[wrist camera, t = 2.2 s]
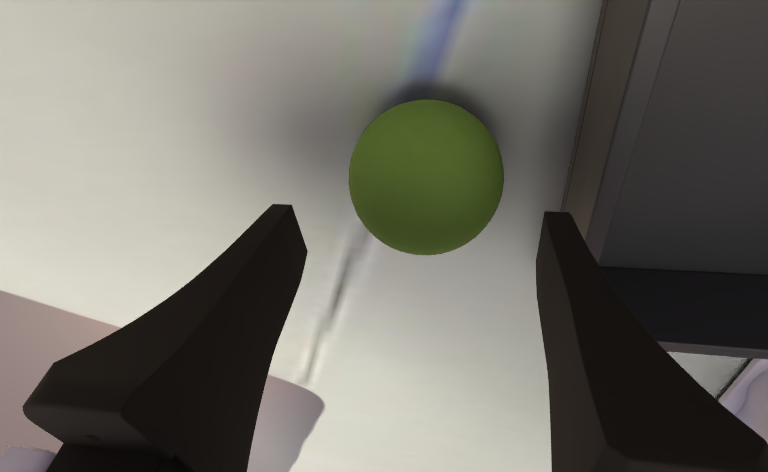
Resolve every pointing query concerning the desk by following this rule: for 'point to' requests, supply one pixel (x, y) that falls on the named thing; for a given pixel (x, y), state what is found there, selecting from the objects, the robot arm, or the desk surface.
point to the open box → (679, 169)
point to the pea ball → (426, 177)
